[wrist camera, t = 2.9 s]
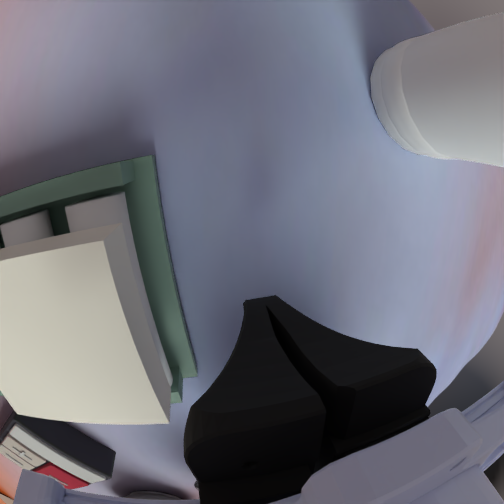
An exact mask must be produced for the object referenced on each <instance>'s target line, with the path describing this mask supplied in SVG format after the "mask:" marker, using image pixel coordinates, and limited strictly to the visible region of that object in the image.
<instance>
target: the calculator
mask: <svg viewBox="0 0 504 504" xmlns="http://www.w3.org/2000/svg"><path fill="white" fill-rule="evenodd" d="M0 453H1V454H2V455H4V456H5V457H6V458H8V459H9V460H11V461H12V462H14V463H15V464H16V465H18V466H20V467H21V468H23V469H27V470H30V471H34V472H37V473H41V474H45V475H47V476H50V477H52V478H54V479H55V480H57V481H58V482H59V483H61V484H62V485H63V486H64V488H66V489H75V488H80V487H84V486H88V485H89V484H92V483H96V482H100V481H104V480H107V479H110V478H111V477H112V472H113V466H114V460H115V454H116V452H115V451H113V450H111V449H109V448H107V447H105V446H104V445H102V444H100V443H98V442H96V441H95V440H93V439H91V438H90V437H88V436H86V435H84V434H83V433H81V432H80V431H78V430H76V429H75V428H73V427H72V426H70V425H69V424H67V423H65V422H64V421H58V420H50V419H43V418H36V417H30V416H25V415H19V414H17V413H16V412H15V410H14V411H13V413H12V414H11V416H10V417H9V419H8V420H7V422H6V423H5V425H4V426H3V428H2V430H1V431H0Z"/></svg>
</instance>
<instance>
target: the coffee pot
mask: <svg viewBox="0 0 504 504" xmlns="http://www.w3.org/2000/svg"><path fill="white" fill-rule="evenodd" d="M123 498H132V499H148V500H182V499H180V498H178V497H176V496H173V495H169V494H165V493H160V492H152V491H137V492H132V493H130V495H128V496H125V497H123Z"/></svg>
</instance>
